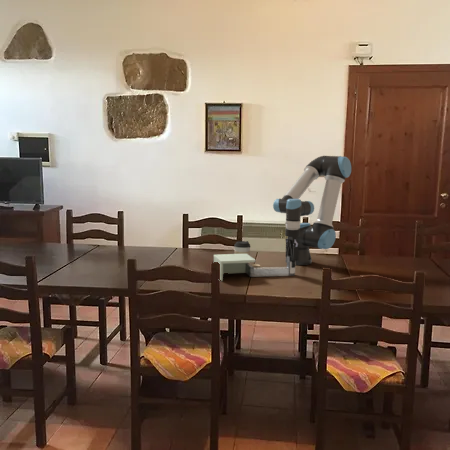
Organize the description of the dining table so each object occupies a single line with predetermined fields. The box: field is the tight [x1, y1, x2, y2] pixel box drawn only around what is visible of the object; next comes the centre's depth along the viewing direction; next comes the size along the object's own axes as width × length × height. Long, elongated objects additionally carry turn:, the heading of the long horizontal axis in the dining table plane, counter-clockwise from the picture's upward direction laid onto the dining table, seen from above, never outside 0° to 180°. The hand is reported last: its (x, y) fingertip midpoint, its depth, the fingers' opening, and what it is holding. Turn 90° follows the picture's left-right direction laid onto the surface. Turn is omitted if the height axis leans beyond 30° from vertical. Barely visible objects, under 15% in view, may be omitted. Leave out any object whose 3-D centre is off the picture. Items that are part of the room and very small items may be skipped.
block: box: [250, 263, 262, 267], centre depth 271 cm, size 5×5×5 cm
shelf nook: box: [213, 253, 256, 282], centre depth 265 cm, size 18×15×10 cm
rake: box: [244, 256, 296, 278], centre depth 271 cm, size 24×9×10 cm, turn 104°
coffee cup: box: [233, 240, 251, 256], centre depth 283 cm, size 9×9×15 cm
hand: (290, 272), depth 271 cm, fingers closed on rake, 3 cm apart
